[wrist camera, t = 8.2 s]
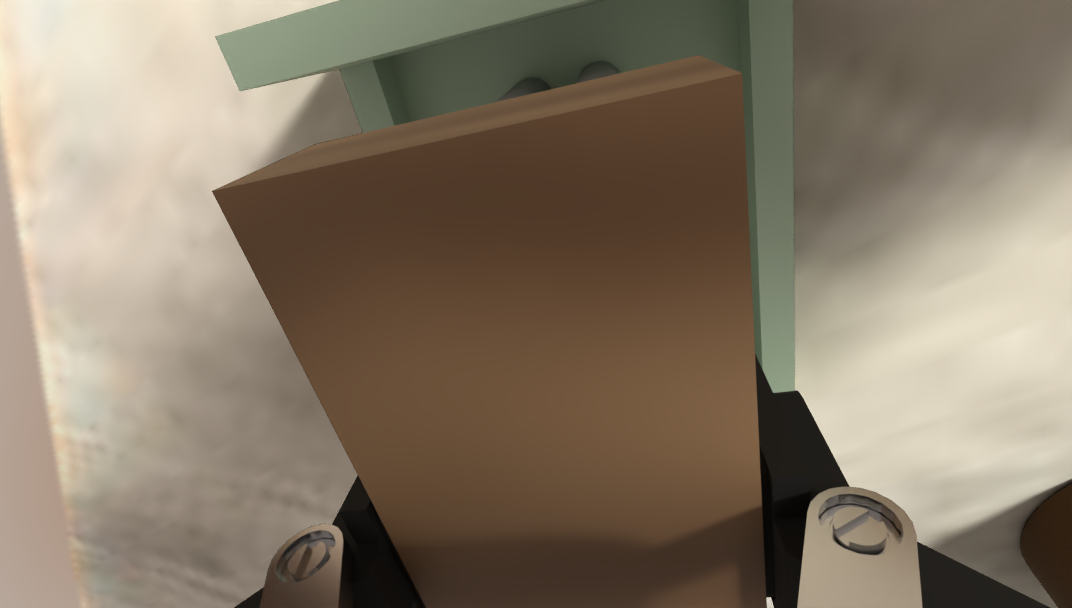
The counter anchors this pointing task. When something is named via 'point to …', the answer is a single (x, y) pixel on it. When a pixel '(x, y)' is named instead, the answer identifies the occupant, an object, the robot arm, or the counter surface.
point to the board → (536, 337)
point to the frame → (556, 61)
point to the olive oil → (1051, 546)
